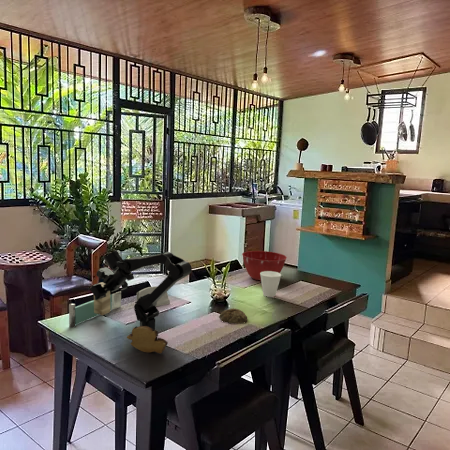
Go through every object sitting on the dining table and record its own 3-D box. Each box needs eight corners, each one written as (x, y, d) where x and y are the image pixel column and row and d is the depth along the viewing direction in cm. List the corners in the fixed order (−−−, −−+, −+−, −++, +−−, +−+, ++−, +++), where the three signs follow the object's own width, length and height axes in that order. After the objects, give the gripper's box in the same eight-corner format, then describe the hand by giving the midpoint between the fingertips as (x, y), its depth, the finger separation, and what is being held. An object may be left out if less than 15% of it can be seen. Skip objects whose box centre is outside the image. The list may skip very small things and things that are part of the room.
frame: (72, 328, 173) (71, 305, 172) (68, 327, 175) (67, 304, 173) (121, 306, 201) (121, 287, 200) (118, 306, 202) (118, 286, 201)
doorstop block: (110, 311, 185) (110, 284, 183) (102, 315, 181) (102, 286, 179) (102, 309, 187) (101, 282, 185) (94, 312, 183) (93, 284, 181)
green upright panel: (77, 325, 176) (77, 308, 174) (74, 324, 177) (73, 307, 175) (113, 310, 195) (113, 294, 194) (109, 309, 196) (109, 294, 195)
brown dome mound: (240, 313, 201) (240, 303, 200) (250, 323, 189) (251, 312, 188) (215, 316, 196) (215, 306, 195) (224, 325, 185) (225, 315, 184)
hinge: (140, 309, 199) (137, 288, 200) (136, 309, 203) (134, 289, 204) (170, 303, 209) (168, 284, 210) (166, 303, 213) (163, 284, 214)
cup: (283, 297, 227) (285, 276, 225) (264, 299, 222) (266, 277, 220) (273, 291, 238) (274, 270, 236) (255, 292, 233) (256, 271, 231)
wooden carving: (169, 352, 156) (169, 327, 155) (164, 357, 152) (165, 331, 150) (130, 345, 160) (130, 321, 159) (124, 350, 156) (124, 325, 154)
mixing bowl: (263, 270, 283) (264, 248, 281) (294, 280, 262) (296, 257, 259) (232, 276, 265) (233, 253, 263) (263, 287, 244) (264, 262, 241)
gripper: (123, 258, 187) (104, 278, 194) (93, 267, 171) (74, 288, 177) (136, 278, 185) (117, 297, 191) (107, 288, 168) (87, 309, 175)
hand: (99, 297), depth 184 cm, fingers closed on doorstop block, 5 cm apart
